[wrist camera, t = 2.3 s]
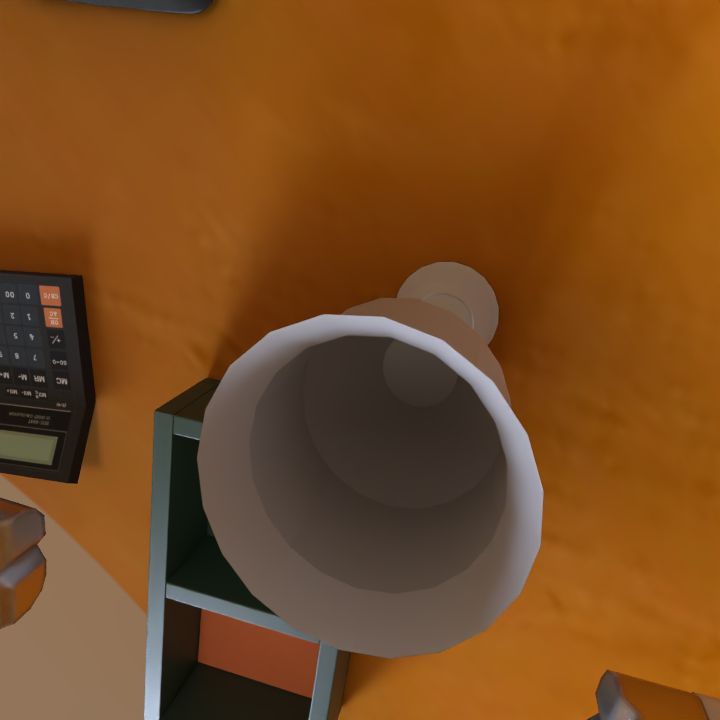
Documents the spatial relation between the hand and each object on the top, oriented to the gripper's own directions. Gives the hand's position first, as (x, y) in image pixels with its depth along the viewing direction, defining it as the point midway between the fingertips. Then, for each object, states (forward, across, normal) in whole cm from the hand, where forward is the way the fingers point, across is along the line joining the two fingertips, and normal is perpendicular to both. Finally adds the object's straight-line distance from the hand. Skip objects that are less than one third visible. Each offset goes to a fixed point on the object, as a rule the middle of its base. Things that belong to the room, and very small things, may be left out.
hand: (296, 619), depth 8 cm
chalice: (+22, 0, 0) cm, 22 cm away
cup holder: (+22, +7, +16) cm, 28 cm away
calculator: (+22, +24, +8) cm, 33 cm away
